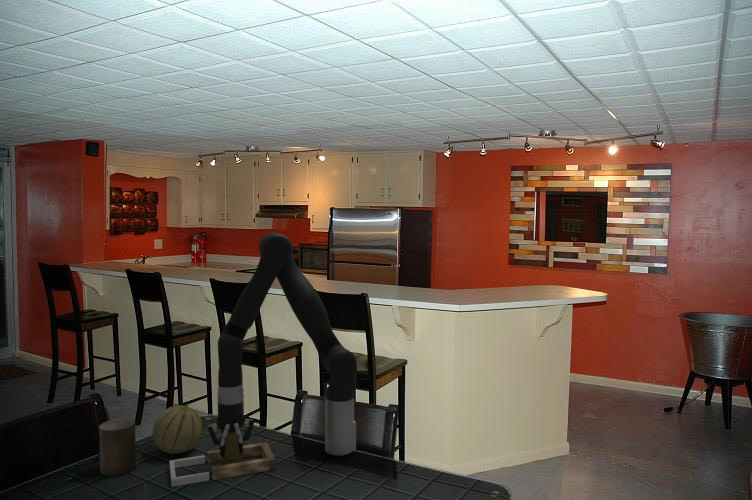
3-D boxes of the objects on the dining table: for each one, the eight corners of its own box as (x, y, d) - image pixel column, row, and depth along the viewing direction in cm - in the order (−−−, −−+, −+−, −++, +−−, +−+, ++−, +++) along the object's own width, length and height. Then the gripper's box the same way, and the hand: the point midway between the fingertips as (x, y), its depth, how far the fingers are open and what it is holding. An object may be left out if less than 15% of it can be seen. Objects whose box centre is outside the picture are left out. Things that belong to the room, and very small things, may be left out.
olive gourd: (236, 471, 160) (236, 434, 159) (217, 469, 161) (217, 433, 161) (245, 462, 166) (245, 427, 165) (227, 460, 167) (226, 425, 166)
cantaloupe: (146, 450, 174) (145, 404, 173) (190, 438, 184) (190, 395, 183) (164, 466, 163) (163, 417, 162) (210, 452, 173) (209, 406, 172)
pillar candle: (142, 468, 162) (141, 419, 161) (107, 480, 154) (106, 427, 154) (128, 459, 168) (127, 411, 168) (94, 469, 161) (93, 419, 160)
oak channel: (266, 451, 174) (266, 442, 174) (275, 469, 162) (275, 459, 162) (207, 460, 167) (207, 451, 167) (212, 480, 155) (212, 469, 155)
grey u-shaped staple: (204, 461, 167) (204, 455, 167) (209, 480, 155) (209, 473, 155) (169, 467, 163) (169, 460, 163) (171, 486, 151) (171, 479, 151)
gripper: (252, 392, 169) (252, 447, 170) (204, 398, 163) (205, 454, 164) (257, 400, 162) (257, 456, 163) (207, 406, 156) (207, 464, 157)
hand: (231, 455), depth 163 cm, fingers closed on olive gourd, 4 cm apart
